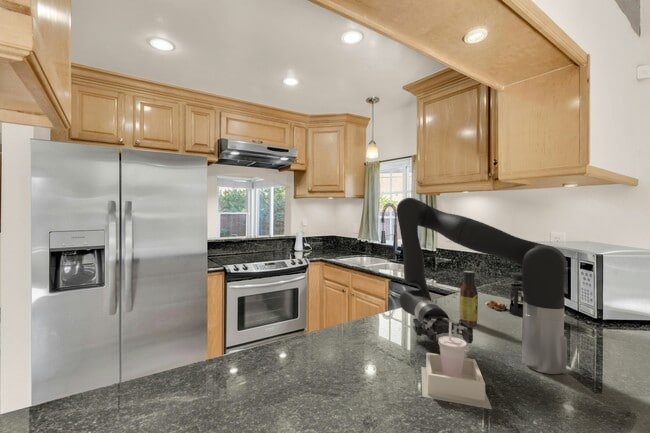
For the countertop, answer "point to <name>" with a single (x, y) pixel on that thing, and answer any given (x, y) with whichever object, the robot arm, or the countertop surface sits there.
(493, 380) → the countertop surface
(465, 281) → the sauce bottle
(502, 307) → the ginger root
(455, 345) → the smoothie
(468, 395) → the cream open box
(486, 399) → the mat
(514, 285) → the french press
